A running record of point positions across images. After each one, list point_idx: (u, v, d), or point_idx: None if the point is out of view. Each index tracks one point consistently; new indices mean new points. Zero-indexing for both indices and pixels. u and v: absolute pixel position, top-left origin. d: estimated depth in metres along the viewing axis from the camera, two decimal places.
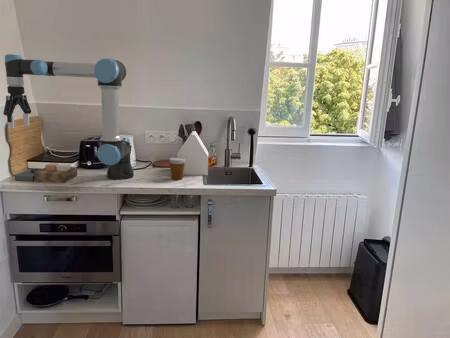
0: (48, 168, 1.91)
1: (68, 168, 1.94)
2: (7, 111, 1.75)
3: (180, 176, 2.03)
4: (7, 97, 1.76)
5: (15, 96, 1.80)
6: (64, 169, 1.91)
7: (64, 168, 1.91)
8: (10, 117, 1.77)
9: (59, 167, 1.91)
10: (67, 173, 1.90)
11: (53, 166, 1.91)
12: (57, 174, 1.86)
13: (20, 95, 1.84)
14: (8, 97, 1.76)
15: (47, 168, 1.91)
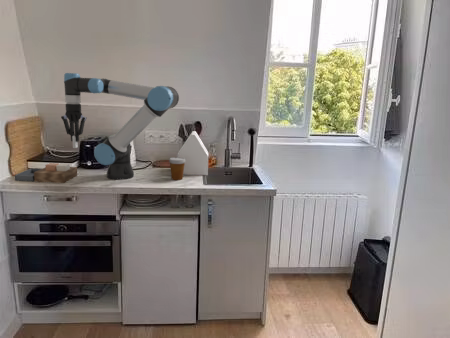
0: (48, 168, 1.91)
1: (68, 168, 1.94)
2: None
3: (180, 176, 2.03)
4: None
5: (66, 113, 1.85)
6: (64, 169, 1.91)
7: (64, 168, 1.91)
8: (71, 137, 1.89)
9: (59, 167, 1.91)
10: (67, 173, 1.90)
11: (53, 166, 1.91)
12: (57, 174, 1.86)
13: (77, 111, 1.85)
14: None
15: (47, 168, 1.91)
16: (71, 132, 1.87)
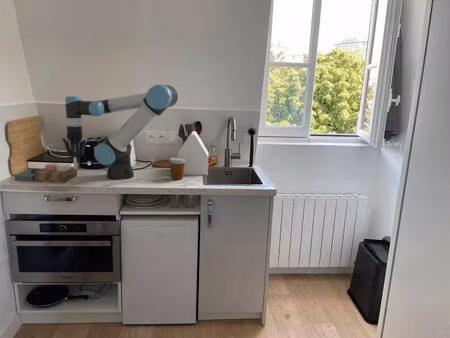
0: (48, 168, 1.91)
1: (68, 168, 1.94)
2: None
3: (180, 176, 2.03)
4: None
5: (68, 135, 1.88)
6: (64, 169, 1.91)
7: (64, 168, 1.91)
8: (72, 158, 1.91)
9: (59, 167, 1.91)
10: (67, 173, 1.90)
11: (53, 166, 1.91)
12: (57, 174, 1.86)
13: (78, 133, 1.88)
14: None
15: (47, 168, 1.91)
16: (72, 154, 1.90)
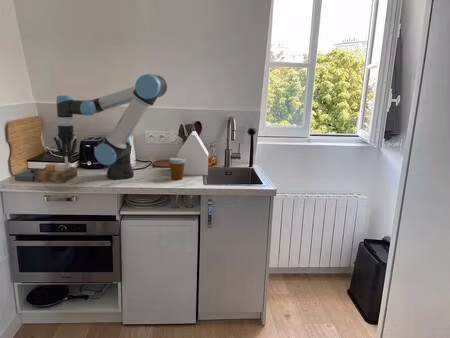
0: (48, 168, 1.91)
1: (67, 168, 1.94)
2: None
3: (180, 176, 2.03)
4: None
5: (59, 134, 1.88)
6: (62, 169, 1.91)
7: (62, 168, 1.91)
8: (64, 157, 1.91)
9: (58, 167, 1.91)
10: (67, 173, 1.90)
11: (53, 166, 1.91)
12: (57, 174, 1.86)
13: (69, 133, 1.88)
14: None
15: (47, 168, 1.91)
16: (63, 153, 1.90)
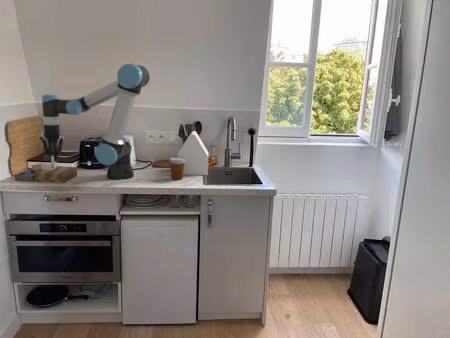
0: (34, 168, 1.91)
1: None
2: None
3: (180, 176, 2.03)
4: None
5: (45, 133, 1.88)
6: (49, 168, 1.91)
7: (49, 167, 1.91)
8: (50, 157, 1.91)
9: (44, 166, 1.91)
10: (67, 173, 1.90)
11: (39, 165, 1.91)
12: (57, 174, 1.86)
13: (55, 132, 1.88)
14: None
15: (33, 168, 1.91)
16: (50, 152, 1.90)
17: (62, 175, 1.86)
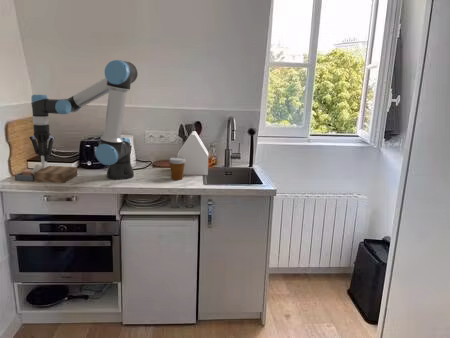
0: (28, 173, 1.92)
1: None
2: None
3: (180, 176, 2.03)
4: None
5: (35, 133, 1.88)
6: (38, 168, 1.91)
7: (37, 167, 1.91)
8: (40, 156, 1.91)
9: (33, 171, 1.91)
10: (67, 173, 1.90)
11: None
12: (57, 174, 1.86)
13: (45, 132, 1.88)
14: None
15: (29, 173, 1.92)
16: (40, 152, 1.90)
17: (62, 175, 1.86)
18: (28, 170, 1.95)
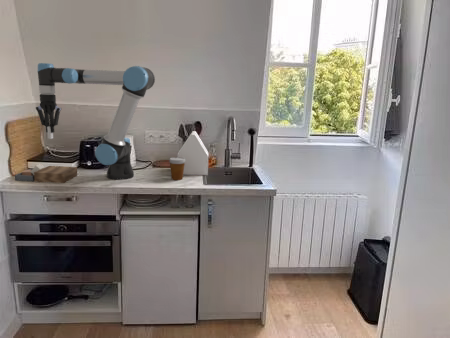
0: (28, 174, 1.92)
1: (42, 166, 1.94)
2: None
3: (180, 176, 2.03)
4: None
5: (41, 103, 1.84)
6: (37, 168, 1.91)
7: (37, 168, 1.91)
8: (46, 128, 1.88)
9: (33, 170, 1.92)
10: (67, 173, 1.90)
11: None
12: (57, 174, 1.86)
13: (51, 102, 1.84)
14: None
15: (29, 173, 1.92)
16: (46, 123, 1.87)
17: (62, 175, 1.86)
18: (28, 170, 1.95)
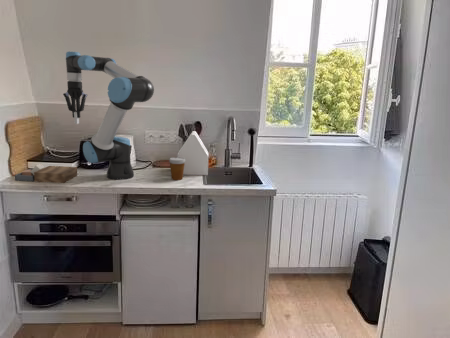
0: (28, 174, 1.92)
1: (42, 166, 1.94)
2: None
3: (180, 176, 2.03)
4: None
5: (68, 90, 1.95)
6: (37, 168, 1.91)
7: (37, 168, 1.91)
8: (73, 113, 1.99)
9: (33, 170, 1.92)
10: (67, 173, 1.90)
11: None
12: (57, 174, 1.86)
13: (78, 88, 1.95)
14: None
15: (29, 173, 1.92)
16: (73, 108, 1.98)
17: (62, 175, 1.86)
18: (28, 170, 1.95)
